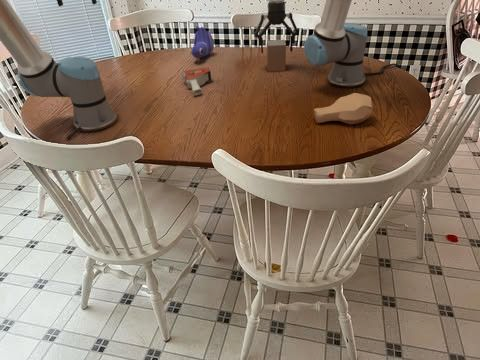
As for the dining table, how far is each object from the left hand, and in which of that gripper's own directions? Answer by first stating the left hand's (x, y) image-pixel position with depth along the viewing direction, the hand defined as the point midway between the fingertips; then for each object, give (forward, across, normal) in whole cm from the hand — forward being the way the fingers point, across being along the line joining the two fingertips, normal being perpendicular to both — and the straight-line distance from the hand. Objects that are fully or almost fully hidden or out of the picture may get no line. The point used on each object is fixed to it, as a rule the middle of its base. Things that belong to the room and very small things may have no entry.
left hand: (78, 4), depth 140 cm
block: (+35, -80, -17) cm, 89 cm away
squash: (+35, -99, +40) cm, 112 cm away
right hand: (+27, -80, -17) cm, 86 cm away
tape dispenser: (+35, -43, +1) cm, 55 cm away
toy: (+35, -42, -39) cm, 67 cm away
